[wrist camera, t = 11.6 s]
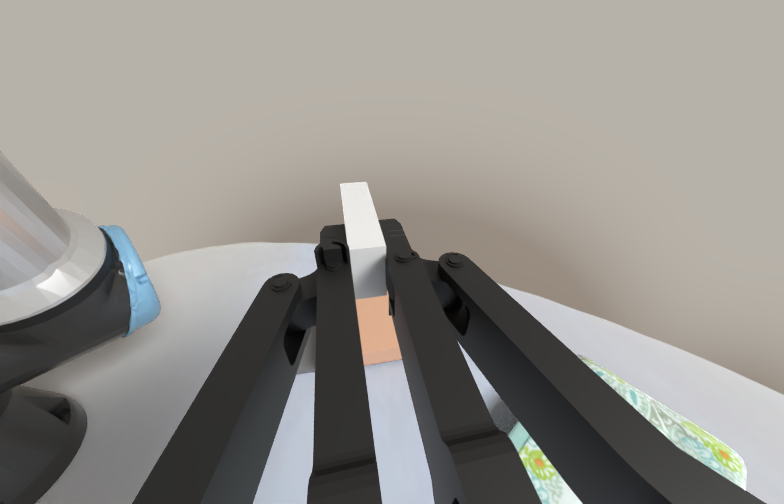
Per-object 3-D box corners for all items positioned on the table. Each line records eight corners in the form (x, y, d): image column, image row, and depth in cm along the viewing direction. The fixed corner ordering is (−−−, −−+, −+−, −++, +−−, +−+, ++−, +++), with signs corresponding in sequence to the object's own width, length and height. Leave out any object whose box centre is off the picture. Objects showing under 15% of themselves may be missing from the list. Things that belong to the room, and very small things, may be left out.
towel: (730, 473, 31) (766, 456, 28) (690, 713, 20) (743, 726, 17) (562, 360, 42) (575, 339, 39) (476, 474, 31) (485, 457, 28)
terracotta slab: (319, 360, 38) (320, 280, 51) (323, 374, 40) (323, 294, 52) (407, 345, 40) (387, 272, 52) (406, 359, 42) (387, 285, 54)
